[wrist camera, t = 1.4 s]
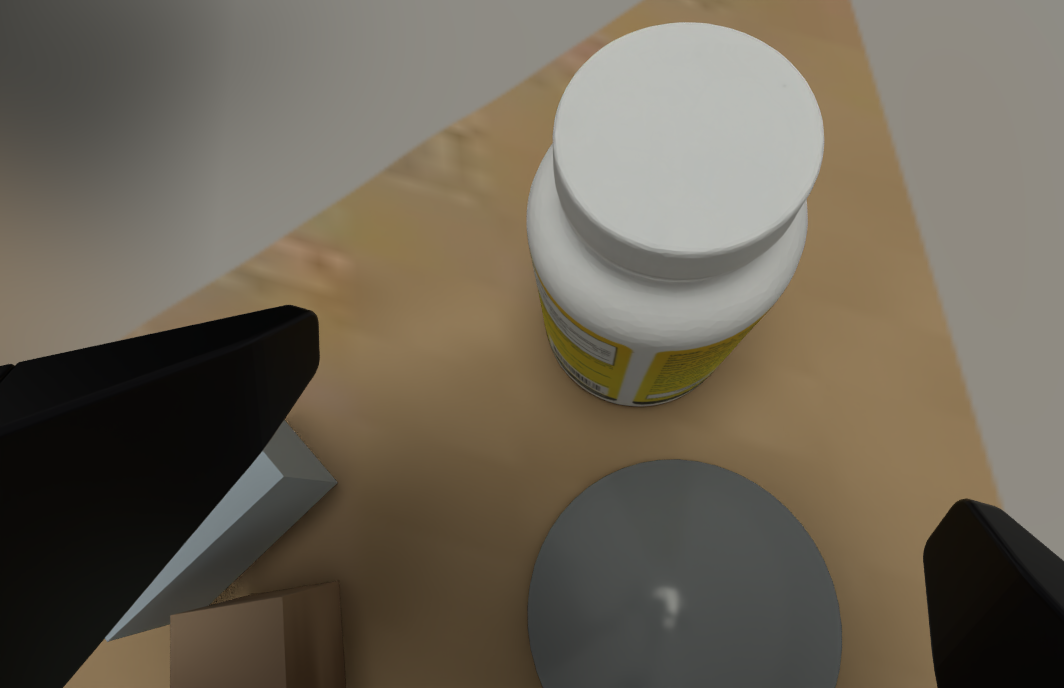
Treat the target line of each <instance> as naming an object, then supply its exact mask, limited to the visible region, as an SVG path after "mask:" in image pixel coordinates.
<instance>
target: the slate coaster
mask: <svg viewBox="0 0 1064 688" xmlns="http://www.w3.org/2000/svg"><path fill="white" fill-rule="evenodd" d="M528 632H529V639H530V646H531V652H532V656H533V659H534V663H535V667H536V671H537V674H538V676H539V679H540V681H541V684H542V686H543V688H835V686H836V682H837V678H838V674H839V670H840V661H841V652H842V625H841V618H840V611H839V604H838V600H837V596H836V592H835V589H834V585H833V581H832V579H831V576H830V574H829V571H828V569H827V566H826V564H825V561H824V559H823V558H822V556H821V554H820V552H819V550H818V548H817V547H816V545H815V543H814V541H813V540H812V538H811V537H810V536H809V534H808V533H807V531H806V530H805V529H804V527H803V526H802V524H801V523H800V522H799V521H798V520H797V519H796V518H795V516H794V515H793V514H792V513H791V512H790V511H789V510H788V509H787V508H786V507H785V506H784V505H783V504H782V503H781V502H779V501H778V500H777V499H776V498H775V497H774V496H773V495H771V494H770V493H769V492H767V491H766V490H764V489H763V488H761V487H760V486H758V485H757V484H756V483H754V482H752V481H750V480H748V479H746V478H744V477H743V476H741V475H739V474H737V473H734V472H732V471H729V470H726V469H724V468H721V467H718V466H715V465H711V464H706V463H702V462H698V461H688V460H656V461H650V462H644V463H639V464H636V465H632V466H629V467H626V468H623V469H620V470H618V471H616V472H614V473H612V474H609V475H607V476H605V477H604V478H602V479H600V480H599V481H597V482H596V483H594V484H592V485H591V486H589V487H588V488H587V489H586V490H585V491H583V492H582V493H581V494H580V495H579V496H577V497H576V498H575V499H574V500H573V501H572V502H571V503H570V504H569V506H568V507H567V508H566V509H565V510H564V511H563V512H562V513H561V515H560V516H559V518H558V519H557V521H556V522H555V523H554V525H553V526H552V528H551V529H550V531H549V533H548V535H547V537H546V539H545V541H544V543H543V545H542V547H541V549H540V552H539V555H538V557H537V560H536V563H535V566H534V570H533V574H532V579H531V583H530V589H529V598H528Z"/></svg>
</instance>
